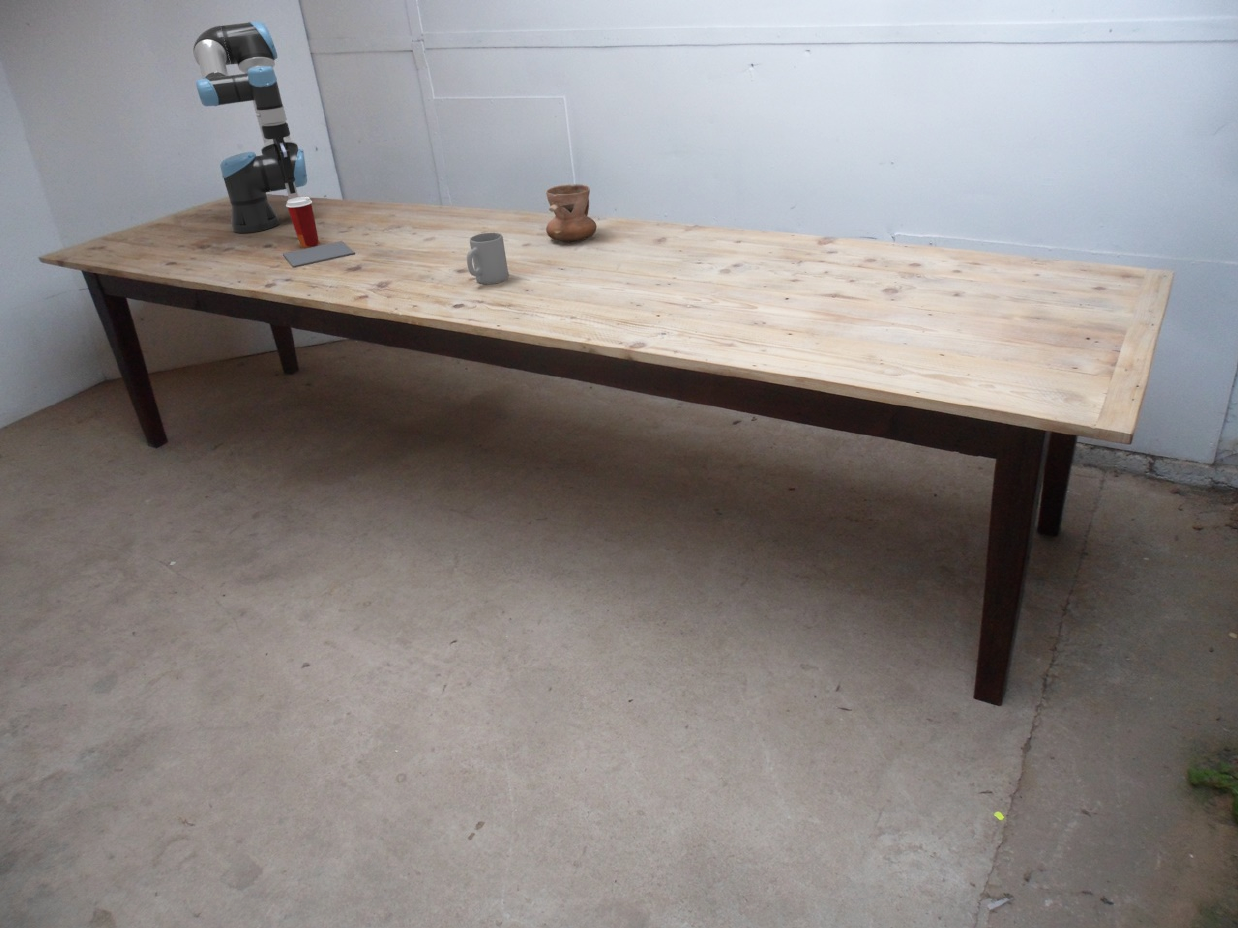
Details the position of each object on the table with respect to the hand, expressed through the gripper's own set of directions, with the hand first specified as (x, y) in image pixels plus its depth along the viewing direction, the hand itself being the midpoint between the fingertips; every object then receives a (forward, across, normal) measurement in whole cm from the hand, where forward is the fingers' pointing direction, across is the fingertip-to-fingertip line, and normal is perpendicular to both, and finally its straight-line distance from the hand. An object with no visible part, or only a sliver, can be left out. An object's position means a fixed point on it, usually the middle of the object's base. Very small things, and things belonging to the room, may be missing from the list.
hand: (295, 203), depth 281 cm
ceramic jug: (+12, +62, +65) cm, 90 cm away
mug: (+12, +81, +31) cm, 87 cm away
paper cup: (+12, +8, 0) cm, 14 cm away
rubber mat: (+12, +21, 0) cm, 24 cm away
